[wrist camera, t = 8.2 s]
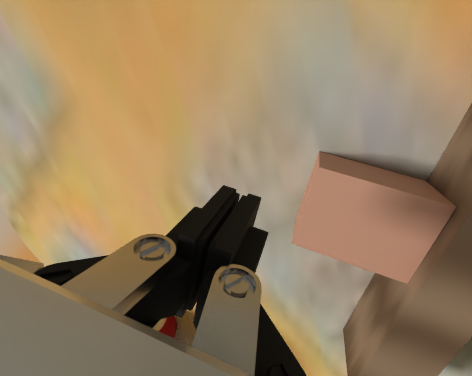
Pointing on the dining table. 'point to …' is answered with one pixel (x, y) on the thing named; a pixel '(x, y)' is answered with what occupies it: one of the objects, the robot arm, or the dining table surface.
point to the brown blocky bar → (423, 289)
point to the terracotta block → (369, 216)
